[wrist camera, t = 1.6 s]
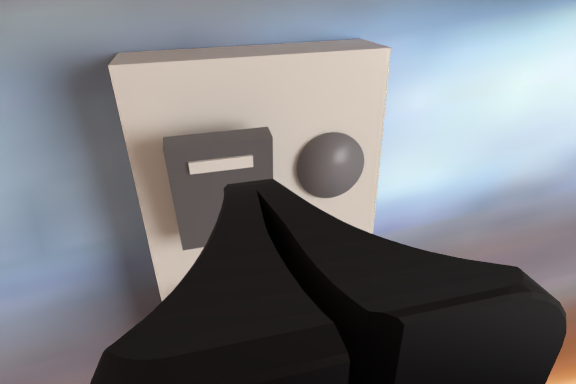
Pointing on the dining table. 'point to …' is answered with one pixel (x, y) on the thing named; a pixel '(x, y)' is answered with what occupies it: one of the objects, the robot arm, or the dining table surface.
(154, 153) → the beige switch box
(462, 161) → the dining table surface
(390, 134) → the dining table surface
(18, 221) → the dining table surface
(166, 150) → the rocker
